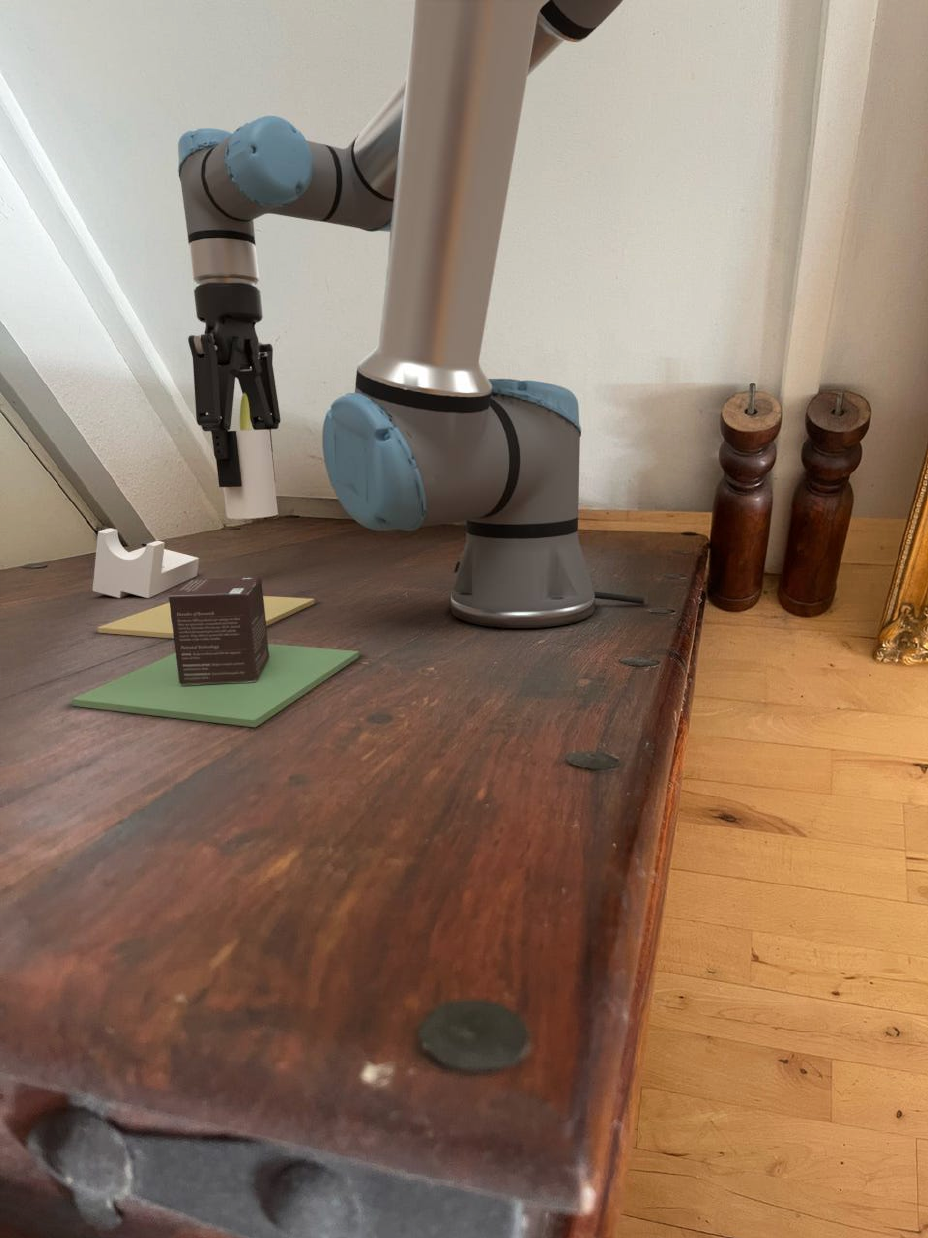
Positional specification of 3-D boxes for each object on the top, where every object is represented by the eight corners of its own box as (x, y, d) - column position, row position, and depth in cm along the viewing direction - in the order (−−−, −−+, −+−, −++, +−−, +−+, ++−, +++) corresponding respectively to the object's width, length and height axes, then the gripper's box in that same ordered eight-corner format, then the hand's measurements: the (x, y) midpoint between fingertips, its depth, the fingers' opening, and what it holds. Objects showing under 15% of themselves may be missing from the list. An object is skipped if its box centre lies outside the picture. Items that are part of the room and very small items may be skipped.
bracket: (147, 605, 91) (154, 545, 89) (92, 590, 91) (98, 531, 89) (195, 582, 104) (202, 529, 101) (147, 569, 104) (153, 517, 102)
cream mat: (315, 603, 86) (314, 598, 85) (231, 643, 71) (230, 637, 71) (198, 597, 91) (198, 592, 90) (98, 632, 76) (97, 627, 76)
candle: (214, 518, 93) (199, 393, 90) (253, 512, 99) (241, 394, 95) (249, 519, 90) (235, 390, 86) (288, 513, 95) (276, 391, 92)
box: (199, 663, 63) (188, 578, 62) (271, 659, 64) (262, 575, 62) (178, 687, 58) (165, 595, 56) (257, 683, 58) (247, 591, 56)
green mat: (359, 657, 66) (358, 650, 65) (255, 728, 51) (254, 720, 51) (206, 645, 71) (206, 639, 70) (72, 706, 56) (71, 698, 56)
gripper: (248, 300, 98) (266, 478, 103) (141, 274, 80) (170, 491, 86) (298, 295, 95) (313, 477, 101) (200, 267, 77) (225, 491, 83)
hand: (248, 483), depth 93 cm, fingers closed on candle, 7 cm apart
